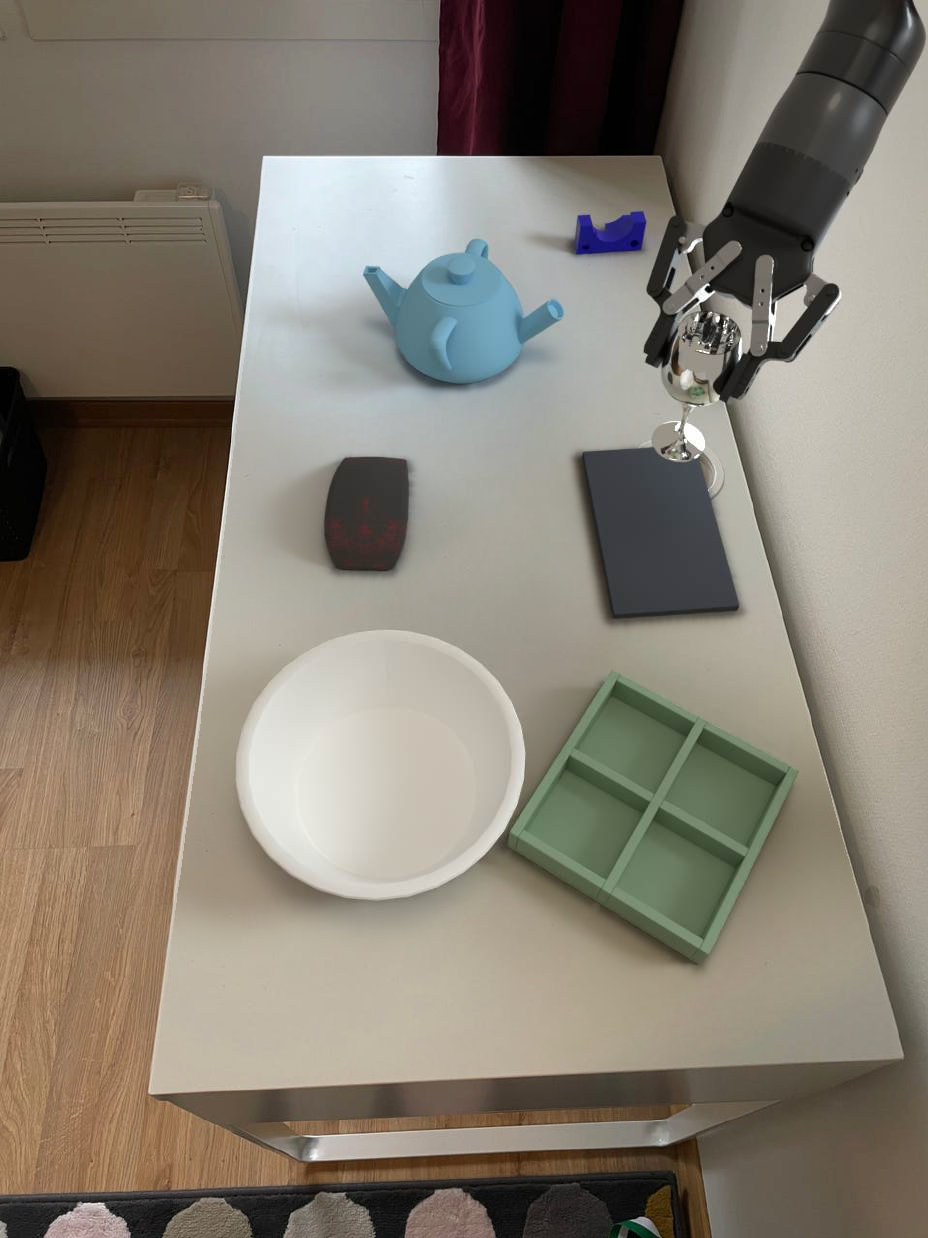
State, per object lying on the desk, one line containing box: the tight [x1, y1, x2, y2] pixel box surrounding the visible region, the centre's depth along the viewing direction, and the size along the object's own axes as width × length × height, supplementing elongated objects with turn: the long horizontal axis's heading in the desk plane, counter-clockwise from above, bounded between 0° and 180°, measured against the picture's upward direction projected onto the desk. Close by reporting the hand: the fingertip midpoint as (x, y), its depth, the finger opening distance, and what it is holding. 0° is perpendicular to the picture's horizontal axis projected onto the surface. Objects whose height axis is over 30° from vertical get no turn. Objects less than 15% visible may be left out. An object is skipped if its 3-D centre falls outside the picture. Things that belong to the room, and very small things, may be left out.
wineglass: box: [651, 310, 742, 462], centre depth 76 cm, size 6×6×12 cm
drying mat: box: [581, 446, 740, 619], centre depth 95 cm, size 20×12×1 cm, turn 5°
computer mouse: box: [323, 456, 410, 571], centre depth 95 cm, size 8×14×4 cm, turn 178°
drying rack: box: [506, 669, 800, 965], centre depth 79 cm, size 17×17×4 cm
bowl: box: [234, 629, 526, 901], centre depth 78 cm, size 22×22×8 cm
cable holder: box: [573, 210, 647, 255], centre depth 116 cm, size 8×4×4 cm, turn 96°
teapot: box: [362, 238, 565, 385], centre depth 104 cm, size 15×17×11 cm
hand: (688, 382), depth 73 cm, fingers closed on wineglass, 5 cm apart
